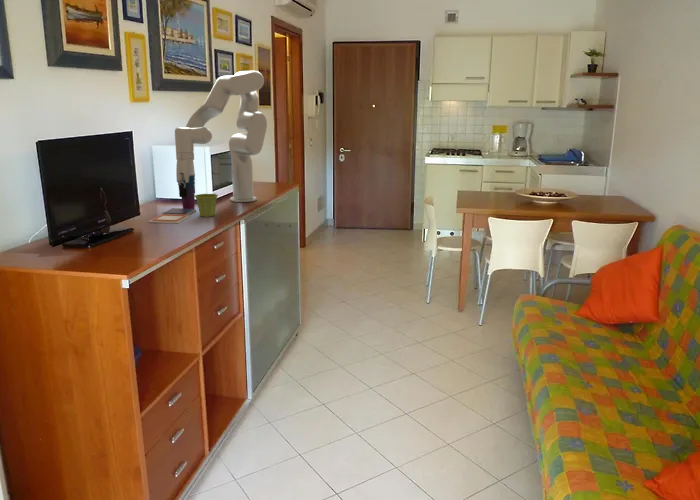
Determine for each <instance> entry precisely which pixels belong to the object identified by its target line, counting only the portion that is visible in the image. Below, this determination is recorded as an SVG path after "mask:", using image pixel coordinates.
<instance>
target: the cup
mask: <svg viewBox="0 0 700 500" xmlns="http://www.w3.org/2000/svg"><path fill="white" fill-rule="evenodd" d="M183 177H184V176H183ZM195 177H196V174H195V175H193V176H189V182H188V183H186V189H187V197H181V204H182V208H183V209H196V208H195V205H196V203H195V201H196V197H195V195H196V178H195ZM183 185H184V183H183Z"/></svg>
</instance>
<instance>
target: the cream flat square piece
mask: <svg viewBox="0 0 700 500" xmlns="http://www.w3.org/2000/svg"><path fill="white" fill-rule="evenodd" d="M188 218H190V215H189V216H187V215H179V214H160V215H158V216H155V217H153V218H151V219H150V220H149V221H148V223H157V224H179V223H181V222H184V221H185V220H187V219H188Z"/></svg>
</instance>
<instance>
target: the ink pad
mask: <svg viewBox="0 0 700 500" xmlns="http://www.w3.org/2000/svg"><path fill="white" fill-rule="evenodd" d="M196 212H197V208H195V209H183V207H182V208H179V207H178V208H176V207H173V208H169V209H168V210H166V211H163V212H161V214H179V215H187V216H190V215H192V214H195V213H196ZM161 214H160V215H161Z"/></svg>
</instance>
